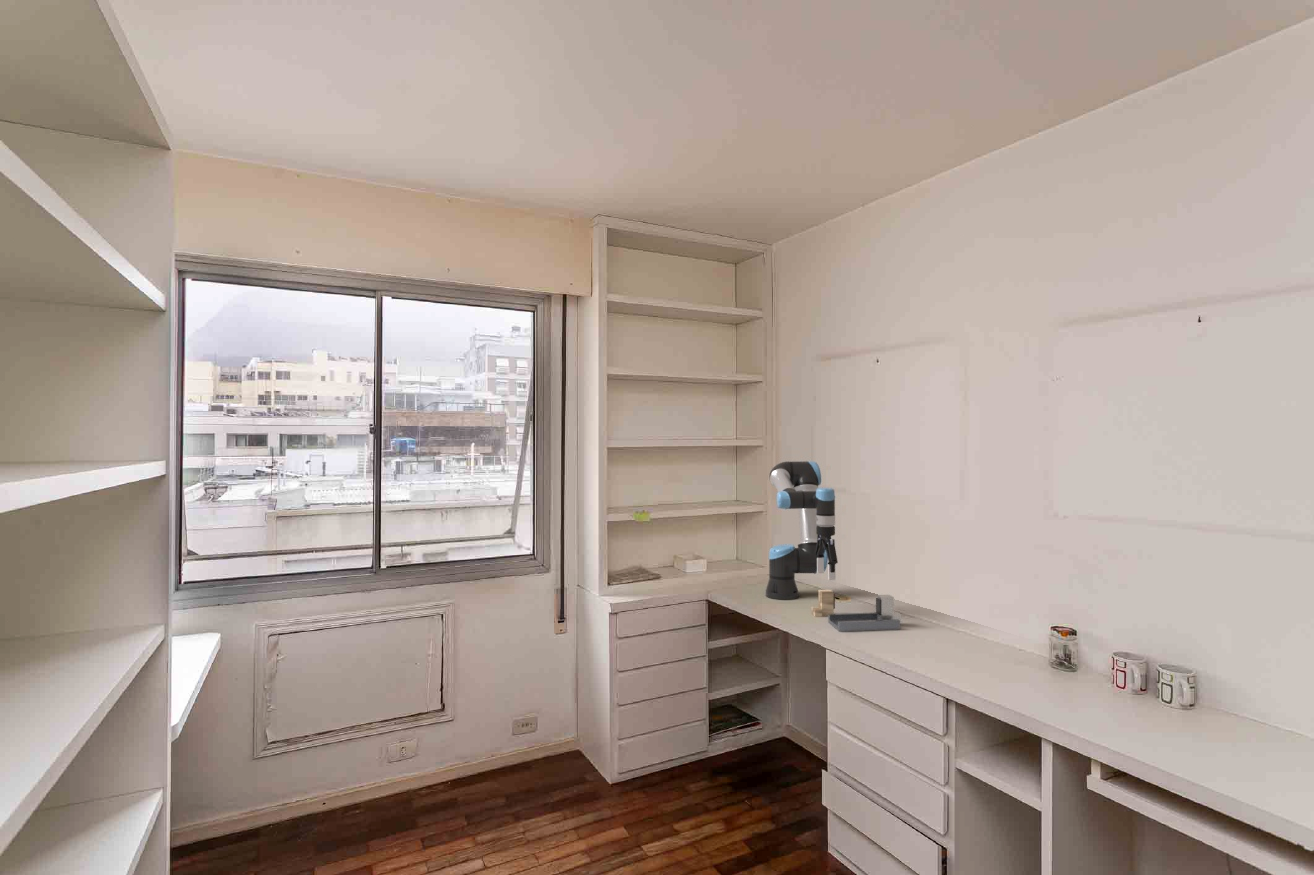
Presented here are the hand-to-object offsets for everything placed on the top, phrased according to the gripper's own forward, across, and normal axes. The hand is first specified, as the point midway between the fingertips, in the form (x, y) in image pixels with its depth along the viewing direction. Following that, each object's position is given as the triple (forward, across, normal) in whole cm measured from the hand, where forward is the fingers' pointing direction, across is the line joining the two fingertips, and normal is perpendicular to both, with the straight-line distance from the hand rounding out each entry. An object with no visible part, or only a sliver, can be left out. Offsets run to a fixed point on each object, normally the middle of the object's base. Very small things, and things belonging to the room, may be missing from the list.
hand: (826, 576), depth 278 cm
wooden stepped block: (+16, 0, -1) cm, 16 cm away
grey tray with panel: (+16, +17, +10) cm, 25 cm away
